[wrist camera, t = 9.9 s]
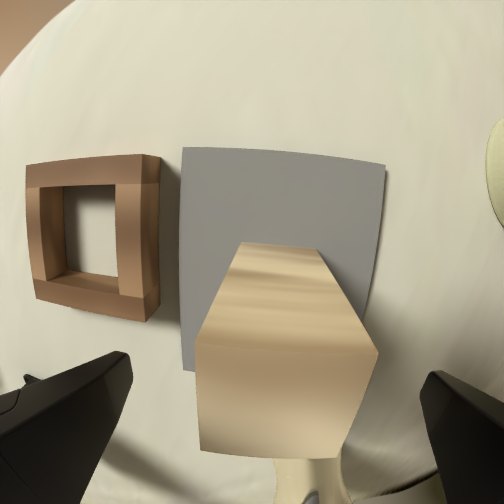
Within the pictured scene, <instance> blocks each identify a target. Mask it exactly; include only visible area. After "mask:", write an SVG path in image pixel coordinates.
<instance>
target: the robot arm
mask: <svg viewBox="0 0 504 504" xmlns="http://www.w3.org/2000/svg"><path fill="white" fill-rule="evenodd" d="M23 377H24V380H25V382H26V384H25V385H24V386H23V387H22V388H21V389H17V390H14V391H12V392H9V393H6V394H3V395H0V504H80V502H81V499H82V497H83V495H84V493H85V490H86V488H87V486H88V484H89V482H90V480H91V477H92V475H93V473H94V471H95V469H96V467H97V465H98V462H99V460H100V458H101V456H102V454H103V452H104V450H105V448H106V446H107V444H108V442H109V440H110V438H111V436H112V433H113V431H114V429H115V427H116V425H117V423H118V421H119V418H120V416H121V413H122V410H123V407H124V404H125V402H126V399H127V396H128V393H129V391H130V388H131V385H132V382H133V372H132V367H131V361H130V357H129V355H128V354H127V353H124V352H120V351H114V352H111V353H109V354H106V355H104V356H102V357H99V358H97V359H94V360H92V361H89V362H87V363H85V364H82V365H80V366H77V367H75V368H72V369H70V370H67V371H65V372H62V373H59V374H57V375H54V376H52V377H49V378H47V379H44V380H41V381H40V380H38V379H36V378H34V377H32V376H30V375H28V374H25V375H24V376H23ZM420 401H421V405H422V410H423V414H424V419H425V423H426V428H427V432H428V437H429V440H430V444H431V447H432V450H433V453H434V457H435V460H436V464H437V467H438V471H439V474H440V478H441V482H442V486H443V490H444V494H445V498H446V503H447V504H504V403H503V402H501V401H499V400H497V399H495V398H494V397H492V396H490V395H488V394H486V393H484V392H482V391H480V390H478V389H476V388H474V387H472V386H471V385H469V384H467V383H465V382H463V381H461V380H459V379H457V378H455V377H453V376H452V375H450V374H448V373H446V372H444V371H442V370H438V371H432V372H430V373H429V374H428V376H427V378H426V380H425V383H424V385H423V387H422V389H421V391H420Z"/></svg>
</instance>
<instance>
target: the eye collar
mask: <svg viewBox="0 0 504 504" xmlns="http://www.w3.org/2000/svg"><path fill="white" fill-rule="evenodd" d="M160 160H161V157H156V156H151V155H145V154H133V155H115V156H101V157H89V158H78V159H69V160H60V161H52V162H45V163H38V164H31V165H26V223H27V237H28V247H29V256H30V264H31V271H32V278H33V284H34V289H35V295H36V299H40V300H44V301H47V302H51V303H55V304H59V305H63V306H67V307H71V308H76V309H80V310H84V311H89V312H93V313H98V314H103V315H108V316H113V317H118V318H123V319H129V320H134V321H140V322H146V321H147V320H148V319H149V318H150V316H151V315H152V314H153V313H154V312H155V311H156V309H157V308H158V307H159V306H160V287H159V255H158V210H159V179H160ZM105 184H116V189H115V226H116V253H117V269H118V277H112V276H105V275H98V274H91V273H84V272H78V271H71V270H68V269H67V260H66V249H65V236H64V216H63V186H74V185H105Z"/></svg>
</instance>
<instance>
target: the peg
mask: <svg viewBox="0 0 504 504" xmlns="http://www.w3.org/2000/svg"><path fill="white" fill-rule="evenodd" d="M194 345H195V374H196V394H197V411H198V425H199V438H200V450H201V451H207V452H214V453H221V454H229V455H238V456H248V457H261V458H281V459H319V458H336V457H337V455H338V453H339V451H340V449H341V447H342V445H343V443H344V441H345V439H346V436H347V434H348V432H349V430H350V428H351V425H352V423H353V421H354V419H355V416H356V414H357V412H358V409H359V407H360V404H361V402H362V399H363V397H364V394H365V392H366V389H367V386H368V384H369V381H370V378H371V375H372V373H373V370H374V367H375V364H376V361H377V358H378V355H379V353H378V351H377V349H376V347H375V346H374V344H373V342H372V340H371V339H370V337H369V335H368V333H367V332H366V330H365V328H364V326H363V325H362V323H361V321H360V320H359V318H358V316H357V314H356V313H355V311H354V309H353V308H352V306H351V304H350V303H349V301H348V299H347V298H346V296H345V294H344V293H343V291H342V290H341V288H340V286H339V285H338V283H337V281H336V280H335V278H334V277H333V275H332V273H331V272H330V270H329V269H328V267H327V265H326V264H325V262H324V261H323V259H322V258H321V256H320V254H319V253H318V251H317V250H316V248H305V247H294V246H282V245H271V244H259V243H247V242H241V244H240V246H239V248H238V250H237V252H236V254H235V256H234V258H233V261H232V263H231V265H230V267H229V269H228V271H227V273H226V275H225V278H224V280H223V282H222V284H221V286H220V288H219V290H218V292H217V295H216V297H215V299H214V301H213V303H212V305H211V307H210V310H209V312H208V314H207V316H206V318H205V320H204V322H203V325H202V327H201V329H200V331H199V333H198V335H197V338H196V340H195V342H194Z"/></svg>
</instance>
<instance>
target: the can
mask: <svg viewBox="0 0 504 504" xmlns="http://www.w3.org/2000/svg"><path fill="white" fill-rule="evenodd" d="M486 176H487V185H488V191H489V195H490V199H491V203H492V206H493V208H494V211H495V213H496V215H497V217H498V219H499V221H500V222H501V224H502V225H503V226H504V118H502V119H500V120H499V121H498V122H497V123H496V125H495V126H494V128H493V129H492V132H491V134H490V137H489V141H488V145H487V152H486Z"/></svg>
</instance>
